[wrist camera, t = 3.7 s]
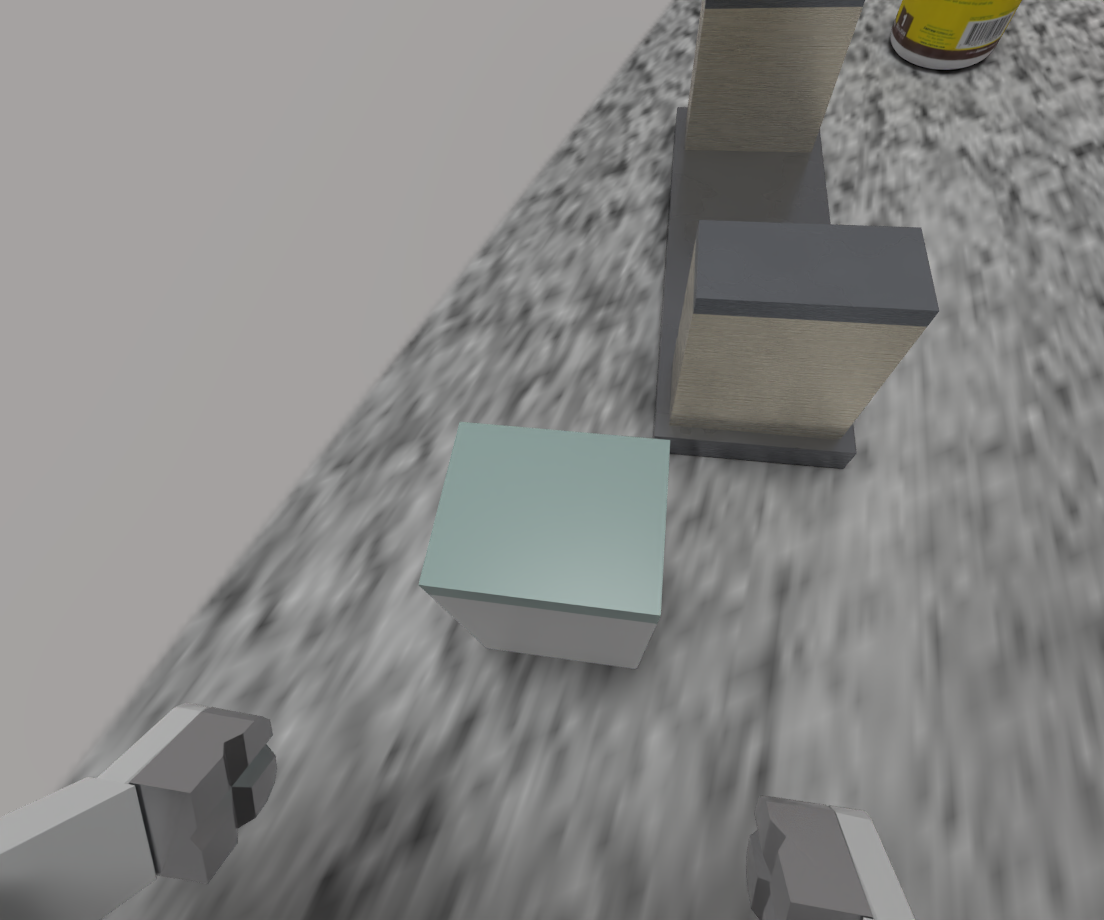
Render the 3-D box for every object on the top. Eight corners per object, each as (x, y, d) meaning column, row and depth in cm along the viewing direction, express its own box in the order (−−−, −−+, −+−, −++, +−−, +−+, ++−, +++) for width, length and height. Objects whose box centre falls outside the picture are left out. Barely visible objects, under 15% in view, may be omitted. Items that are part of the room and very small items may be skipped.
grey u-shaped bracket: (809, 131, 30) (872, -57, 23) (843, 468, 21) (964, 327, 14) (674, 129, 31) (696, -52, 24) (652, 451, 22) (676, 311, 15)
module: (644, 551, 20) (670, 439, 13) (636, 669, 18) (660, 615, 11) (507, 535, 21) (459, 421, 14) (485, 648, 19) (418, 584, 12)
